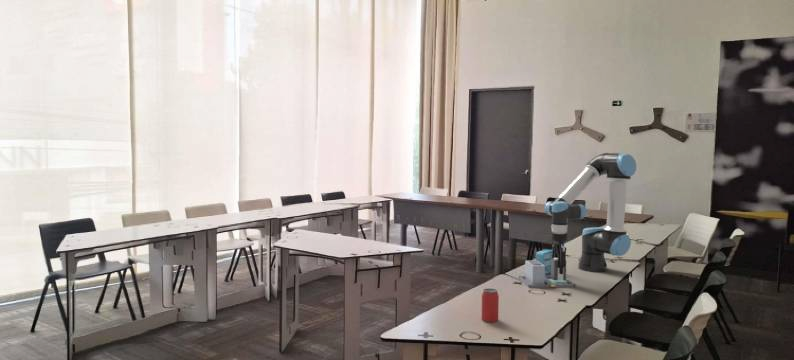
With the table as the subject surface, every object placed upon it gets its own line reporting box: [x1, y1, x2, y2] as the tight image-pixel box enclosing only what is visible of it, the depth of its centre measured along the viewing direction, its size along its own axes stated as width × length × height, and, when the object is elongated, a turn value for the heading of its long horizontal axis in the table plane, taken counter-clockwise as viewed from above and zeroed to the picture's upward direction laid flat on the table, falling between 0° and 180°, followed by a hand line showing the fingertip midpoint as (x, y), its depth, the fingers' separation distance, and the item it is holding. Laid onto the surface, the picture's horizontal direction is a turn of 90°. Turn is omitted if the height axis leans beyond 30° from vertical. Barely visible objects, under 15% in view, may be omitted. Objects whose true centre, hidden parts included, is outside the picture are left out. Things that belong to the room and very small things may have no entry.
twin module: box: [524, 259, 546, 285], centre depth 264 cm, size 6×12×10 cm, turn 3°
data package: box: [535, 248, 552, 275], centre depth 284 cm, size 12×4×12 cm, turn 136°
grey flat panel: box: [518, 275, 577, 289], centre depth 264 cm, size 23×18×2 cm
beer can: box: [481, 288, 500, 323], centre depth 210 cm, size 7×7×12 cm
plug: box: [550, 258, 567, 280], centre depth 264 cm, size 6×5×10 cm
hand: (558, 278), depth 265 cm, fingers closed on plug, 5 cm apart
